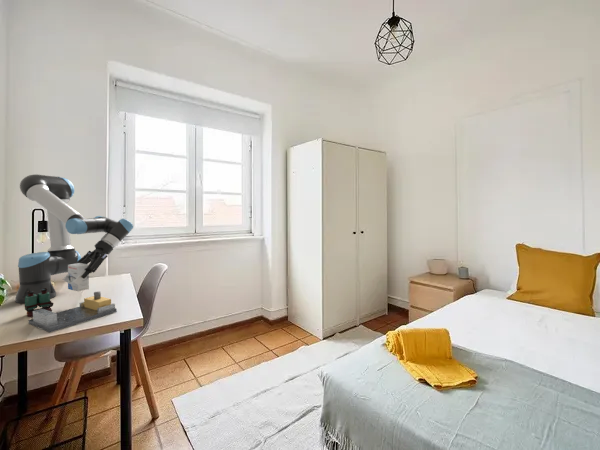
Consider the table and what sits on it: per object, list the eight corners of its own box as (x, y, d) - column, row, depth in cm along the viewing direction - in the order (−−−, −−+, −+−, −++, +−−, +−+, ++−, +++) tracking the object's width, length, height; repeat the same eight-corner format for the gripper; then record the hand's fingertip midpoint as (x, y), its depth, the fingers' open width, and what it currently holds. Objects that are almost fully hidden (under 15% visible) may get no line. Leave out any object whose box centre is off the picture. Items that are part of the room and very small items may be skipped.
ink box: (67, 289, 129) (66, 264, 129) (79, 286, 134) (79, 262, 133) (77, 291, 126) (77, 266, 125) (90, 289, 130) (89, 264, 130)
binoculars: (27, 296, 113) (22, 290, 119) (28, 321, 114) (23, 313, 120) (55, 291, 120) (49, 285, 126) (56, 314, 122) (50, 307, 127)
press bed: (28, 323, 110) (27, 310, 109) (94, 305, 131) (94, 294, 130) (49, 332, 101) (48, 317, 101) (116, 311, 122) (116, 299, 122)
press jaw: (84, 306, 124) (83, 291, 124) (96, 303, 129) (96, 289, 128) (99, 311, 119) (98, 295, 118) (111, 307, 123) (110, 292, 123)
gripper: (124, 250, 138) (89, 289, 124) (101, 247, 147) (65, 283, 134) (113, 241, 133) (75, 280, 119) (89, 238, 143) (51, 275, 129)
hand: (70, 282), depth 127 cm, fingers closed on ink box, 9 cm apart
